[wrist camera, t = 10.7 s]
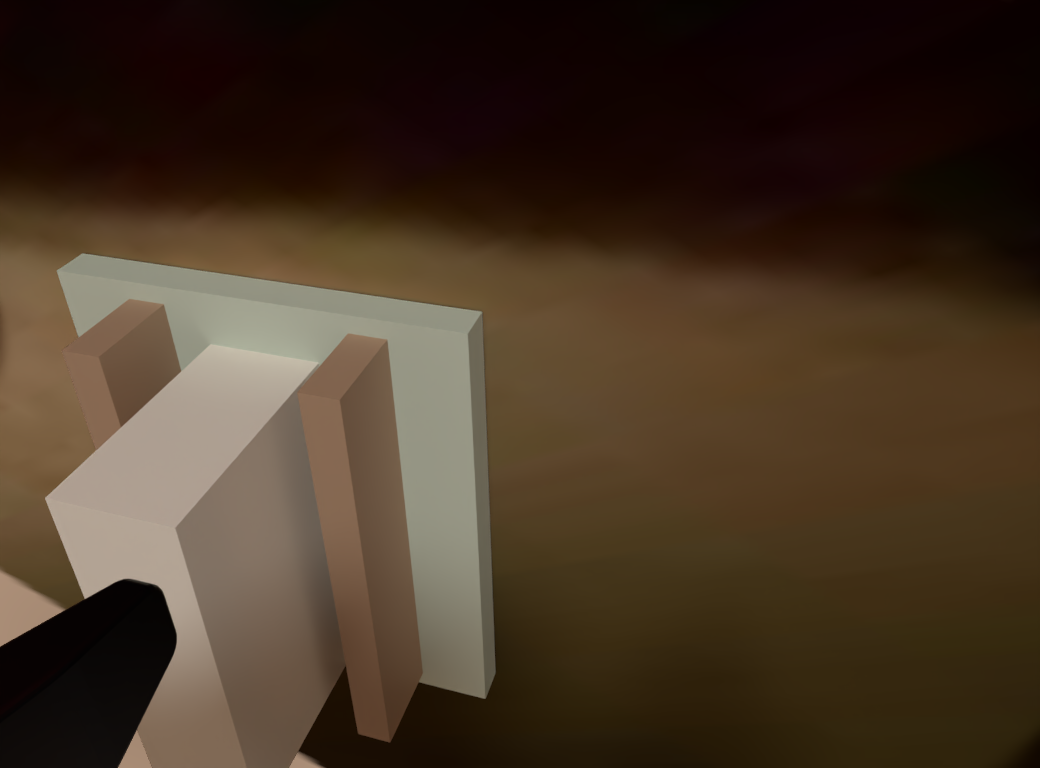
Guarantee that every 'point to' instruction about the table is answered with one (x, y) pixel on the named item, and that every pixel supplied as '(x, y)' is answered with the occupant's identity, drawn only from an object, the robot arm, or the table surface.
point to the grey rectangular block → (217, 557)
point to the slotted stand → (335, 448)
